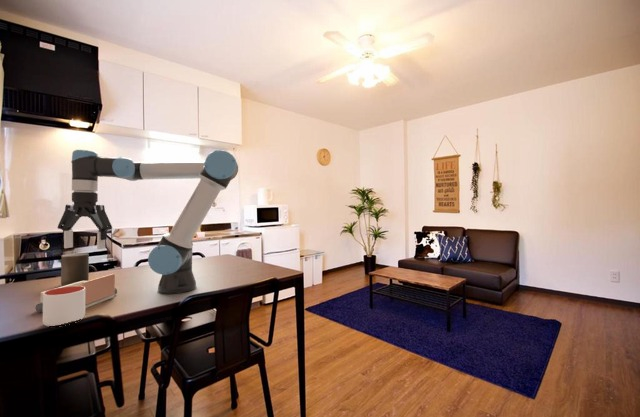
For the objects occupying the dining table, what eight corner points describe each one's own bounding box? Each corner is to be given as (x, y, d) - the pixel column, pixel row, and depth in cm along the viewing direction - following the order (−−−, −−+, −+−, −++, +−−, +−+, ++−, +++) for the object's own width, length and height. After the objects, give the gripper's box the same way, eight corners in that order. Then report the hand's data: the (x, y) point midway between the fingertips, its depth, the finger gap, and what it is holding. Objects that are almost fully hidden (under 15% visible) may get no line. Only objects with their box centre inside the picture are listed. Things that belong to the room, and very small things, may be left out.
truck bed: (119, 295, 117) (119, 280, 117) (69, 314, 96) (70, 296, 96) (88, 293, 118) (88, 279, 118) (32, 312, 97) (32, 294, 97)
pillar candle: (86, 285, 130) (87, 252, 130) (58, 288, 124) (59, 254, 124) (89, 280, 138) (90, 249, 138) (63, 283, 133) (63, 251, 133)
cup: (59, 330, 84) (60, 296, 84) (33, 326, 86) (34, 293, 86) (93, 317, 94) (93, 287, 94) (68, 314, 96) (69, 284, 96)
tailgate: (114, 294, 113) (114, 273, 113) (83, 306, 100) (83, 282, 99) (112, 294, 113) (112, 273, 113) (80, 306, 100) (81, 282, 100)
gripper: (123, 192, 109) (123, 247, 110) (65, 192, 112) (64, 245, 112) (106, 191, 102) (106, 250, 102) (44, 191, 104) (44, 248, 105)
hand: (84, 248), depth 107 cm, fingers open, 13 cm apart
